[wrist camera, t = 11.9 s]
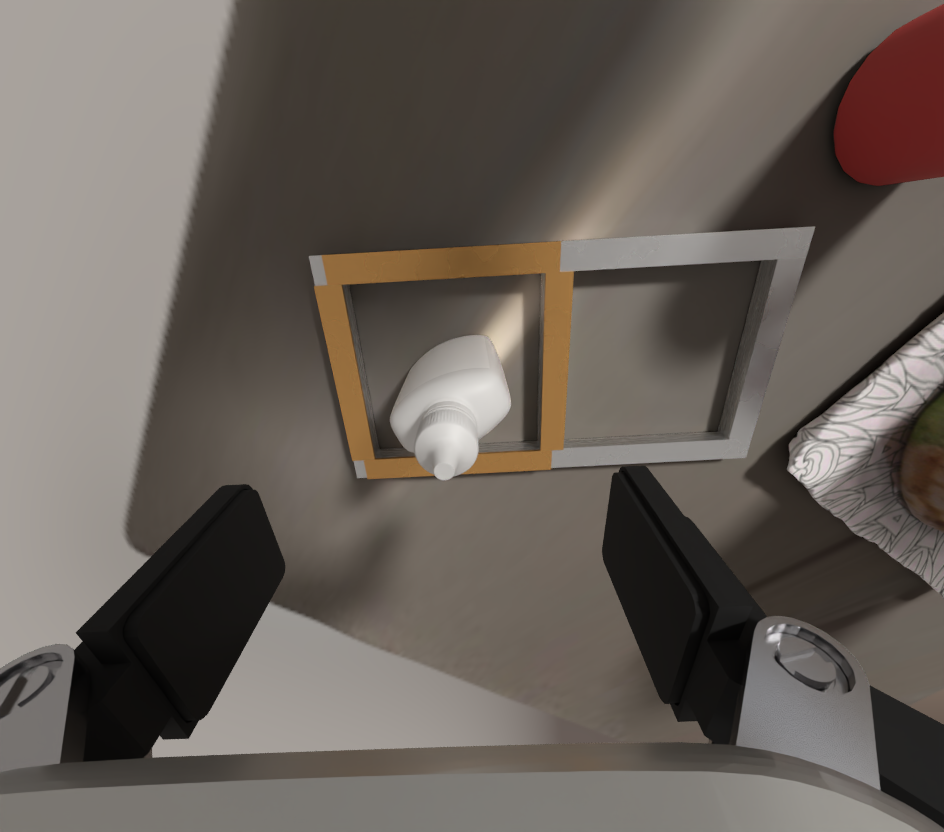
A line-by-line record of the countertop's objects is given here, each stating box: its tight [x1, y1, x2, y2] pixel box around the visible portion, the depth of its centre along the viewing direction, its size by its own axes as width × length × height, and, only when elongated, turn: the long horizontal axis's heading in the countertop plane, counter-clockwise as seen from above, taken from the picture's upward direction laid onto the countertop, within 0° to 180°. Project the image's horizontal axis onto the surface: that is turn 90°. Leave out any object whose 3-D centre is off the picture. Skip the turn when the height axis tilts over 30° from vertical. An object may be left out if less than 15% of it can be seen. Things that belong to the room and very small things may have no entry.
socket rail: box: [309, 226, 815, 479], centre depth 23 cm, size 14×26×1 cm, turn 93°
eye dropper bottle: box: [390, 335, 511, 480], centre depth 18 cm, size 4×6×12 cm
